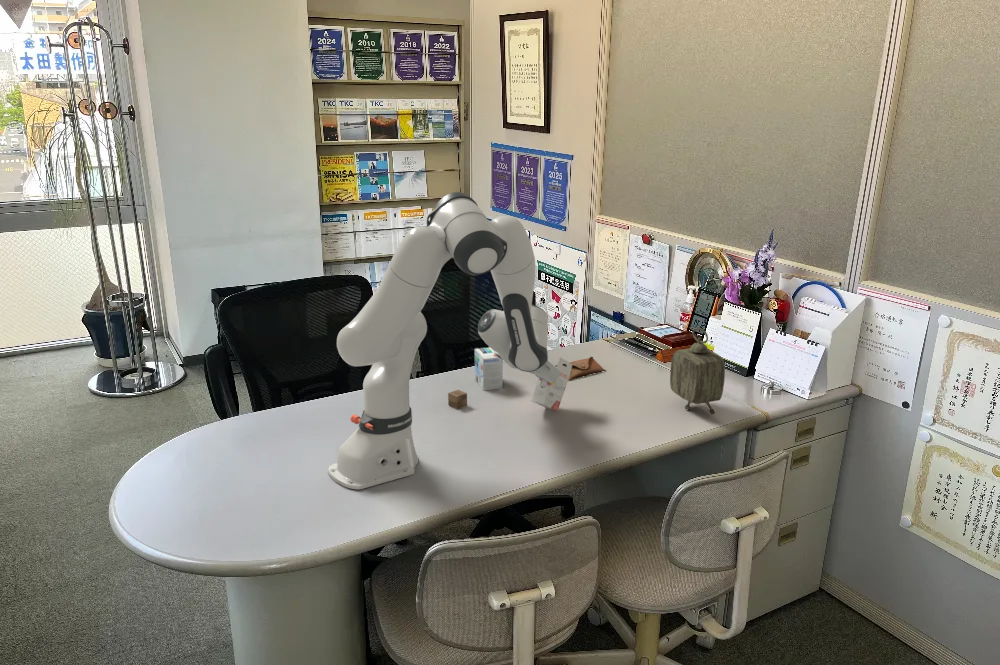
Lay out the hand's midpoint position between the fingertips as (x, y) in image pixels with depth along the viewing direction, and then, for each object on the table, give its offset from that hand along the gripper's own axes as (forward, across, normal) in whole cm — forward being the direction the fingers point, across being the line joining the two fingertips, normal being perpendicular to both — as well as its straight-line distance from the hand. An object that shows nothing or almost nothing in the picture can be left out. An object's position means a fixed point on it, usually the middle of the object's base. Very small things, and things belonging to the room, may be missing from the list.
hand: (544, 377), depth 208 cm
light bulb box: (+9, +29, +7) cm, 31 cm away
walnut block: (-4, +20, +20) cm, 28 cm away
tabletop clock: (+34, -25, -18) cm, 46 cm away
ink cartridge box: (+6, 0, +7) cm, 9 cm away
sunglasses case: (+31, +18, -14) cm, 39 cm away
